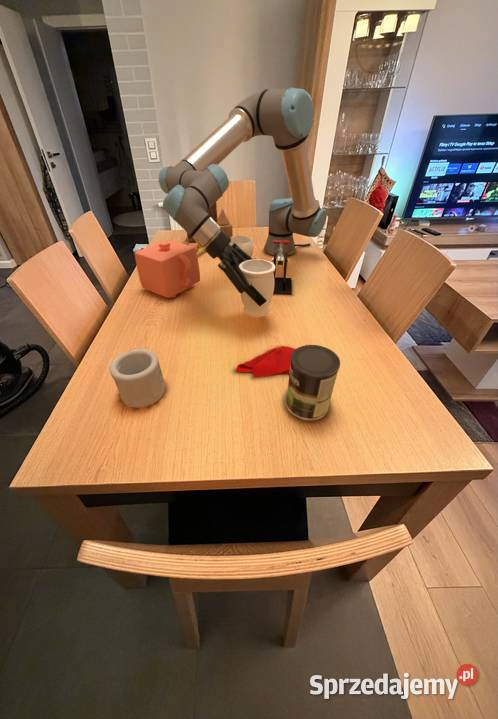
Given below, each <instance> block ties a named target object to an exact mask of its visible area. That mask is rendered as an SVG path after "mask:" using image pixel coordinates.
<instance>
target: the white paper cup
mask: <svg viewBox="0 0 498 719" xmlns="http://www.w3.org/2000/svg"><path fill="white" fill-rule="evenodd" d="M239 268H240V270H241V271H242V273H243V275H244V277H245V278H246V280H247V282H248V283H249V285H252V286H253V287H254V288H255V289H256V290H257V291H258V292H259V293H260V294H261V295H262V296H263V297H264V298H265V299H266V300H267V301H266V302H265V303H264V304H263V305H261V306H259V305H258V304H257V303H256V302H255V301H254V300H253V299H252V298H251V297H250V296H249V295H248V294H247V293H246V292H243V293H240V299H241V302H242V305H243V309H242V310H243V313H244V314H245V315H247V316H249V317H253V318H261V317H265V316H267V315H268V314H269V313H270V311H271V309H270V305H271V303H272V299H273V296H274V294H273V292H274V274H273V272H274V271H275V265H274V262H272V261H270V260H267V259H262V258H261V259H260V258H252V260H247V261H244V262H242V263H241V264H240V265H239Z"/></svg>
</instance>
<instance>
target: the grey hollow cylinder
mask: <svg viewBox="0 0 498 719" xmlns="http://www.w3.org/2000/svg"><path fill="white" fill-rule="evenodd" d="M158 357H159V356H158V355H157V354H156V353H155V352H153V351H152V350H150V349H145V348H134V349H129V350H127V351H124V352H122V353H120V354H119V355H117V356H116V357H115V358H114V359H113V360H112V362H111V363H110V366H109V373H110V375H111V377H112V379H113V381H114V384H115V386H116V388H117V390H118V393H119V398H120V399H121V401H122V403H123V404H124V405H126V406H127V407H130V408H138V409H139V408H145V407H149V406H151V405H153V404H155V403H156V402H158V401H159V400H160V399H162V397H163V395H164V394H165V392H166V383H165V380H164V376H163V372H162V368H161V365H160V361H159V358H158Z"/></svg>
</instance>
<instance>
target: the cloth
mask: <svg viewBox="0 0 498 719" xmlns="http://www.w3.org/2000/svg"><path fill="white" fill-rule="evenodd" d="M295 349H296V348H293V347H290V346H287V345H281V346H279V347H274V348H272V349H270V350H268V351H265V352H264V353H262V354H259V355H257V356H255V357H254V358H252V359H251V360H248V361H244V362H243V363H239V364H238V365H236V368H235V372H237V373H252V375H253V378H261V377H268V376H273V375H277V374H278V375H279V374H288V375H289V373H290V364H291V354H292V353H293V351H294V350H295Z"/></svg>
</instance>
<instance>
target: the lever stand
mask: <svg viewBox="0 0 498 719" xmlns="http://www.w3.org/2000/svg"><path fill="white" fill-rule="evenodd" d="M271 260H272V261H271V262H272V263H273V264H274V265H275V271H274V272H273V274H274V292H273V295H282V296H283V295H285V296H287V295H288V296H292V294H293V286H292V284H293V283H292V277H287V270H288V263H289V261H290V258H289V256H288V253H285V257H284V261H283V272H282V276H280V277H279V276H276V273H277V272H276V271H277V260H278V257H277V253H274V256H273V257H272V258H271Z"/></svg>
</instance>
